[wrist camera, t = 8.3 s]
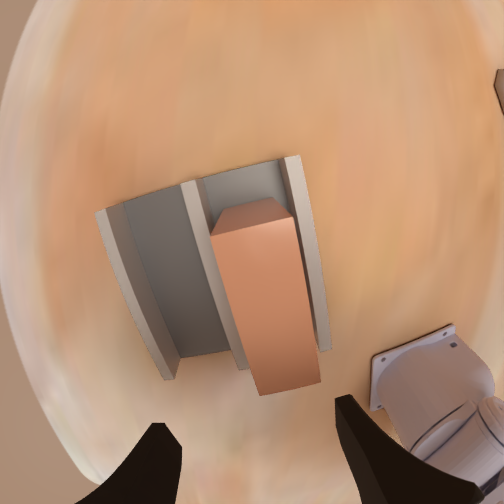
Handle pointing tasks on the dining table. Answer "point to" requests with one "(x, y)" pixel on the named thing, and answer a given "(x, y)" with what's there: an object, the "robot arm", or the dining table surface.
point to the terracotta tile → (267, 293)
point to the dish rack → (201, 260)
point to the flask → (500, 86)
